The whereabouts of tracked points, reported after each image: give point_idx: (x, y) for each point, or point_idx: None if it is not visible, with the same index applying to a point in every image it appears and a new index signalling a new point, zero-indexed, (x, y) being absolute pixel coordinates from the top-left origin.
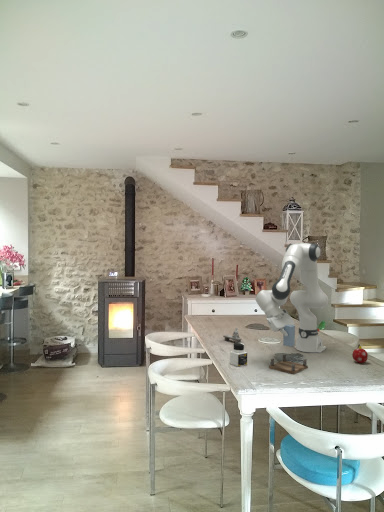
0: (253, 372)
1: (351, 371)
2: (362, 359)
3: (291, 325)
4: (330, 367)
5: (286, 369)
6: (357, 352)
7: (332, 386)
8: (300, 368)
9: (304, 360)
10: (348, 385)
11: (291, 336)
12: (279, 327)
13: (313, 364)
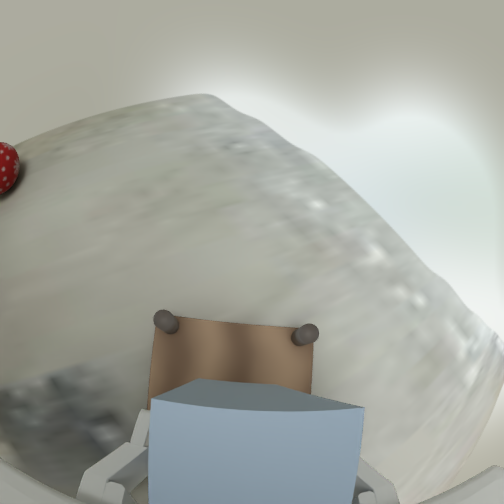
0: (396, 458)
1: (110, 164)
2: (18, 159)
3: (197, 475)
4: (92, 236)
5: (306, 371)
6: (1, 159)
7: (328, 168)
8: (237, 324)
9: (173, 319)
10: (280, 137)
11: (279, 391)
12: (477, 482)
13: (84, 312)
